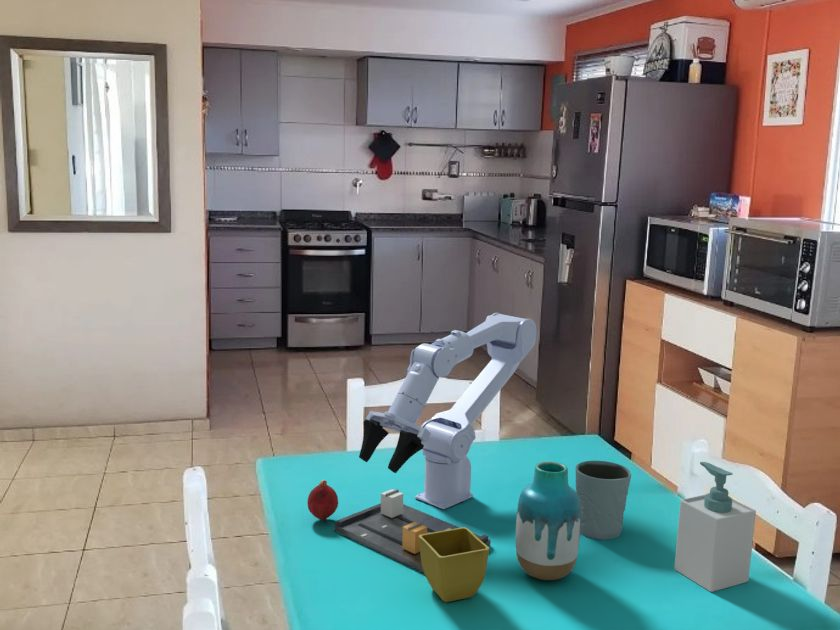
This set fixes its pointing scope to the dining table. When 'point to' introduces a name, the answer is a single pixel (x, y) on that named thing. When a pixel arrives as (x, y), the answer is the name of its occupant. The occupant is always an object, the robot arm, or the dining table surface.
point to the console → (391, 531)
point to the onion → (322, 501)
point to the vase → (548, 524)
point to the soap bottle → (715, 537)
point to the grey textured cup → (602, 498)
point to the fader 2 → (413, 536)
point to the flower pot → (453, 562)
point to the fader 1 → (392, 503)
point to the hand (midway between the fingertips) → (377, 465)
